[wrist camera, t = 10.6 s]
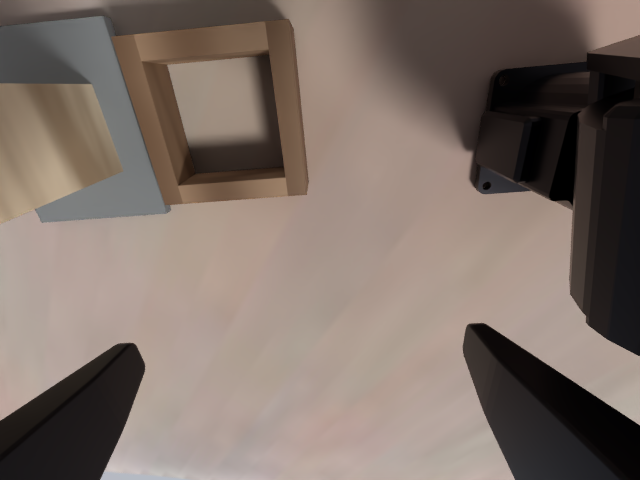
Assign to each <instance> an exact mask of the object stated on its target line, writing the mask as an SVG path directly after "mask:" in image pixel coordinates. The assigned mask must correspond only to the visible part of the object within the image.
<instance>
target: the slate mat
mask: <svg viewBox="0 0 640 480" xmlns="http://www.w3.org/2000/svg"><path fill="white" fill-rule="evenodd" d="M112 36H116V34H115V31H114V27H113V24H112V21H111V18H108V17H105V16H95V17H86V18H76V19H66V20H56V21H46V22H37V23H27V24H17V25H7V26H0V83H14V84H92V86H93V88H94V91H95V94H96V97H97V99H98V102H99V105H100V108H101V110H102V113H103V116H104V119H105V121H106V124H107V127H108V130H109V132H110V135H111V138H112V141H113V143H114V146H115V149H116V152H117V154H118V157H119V160H120V163H121V165H122V168H123V172H120V173H118V174H116V175H113V176H111V177H109V178H106V179H104V180H102V181H99V182H97V183H95V184H92V185H90V186H88V187H85V188H83V189H81V190H78V191H76V192H74V193H71V194H69V195H67V196H64V197H62V198H60V199H57V200H55V201H53V202H50V203H48V204H46V205H43V206H41V207H39V208H36V209H35V210H36V212H37V214H38V216H39V218H40V220H41V222H42V223H43V222H57V221H71V220H84V219H98V218H112V217H125V216H139V215H153V214H166V213H168V212H169V211H170V210H171V209H170V205H165V203H164V200H163V197H162V194H161V191H160V188H159V185H158V181H157V178H156V175H155V172H154V169H153V166H152V163H151V160H150V157H149V153H148V150H147V147H146V144H145V141H144V138H143V135H142V132H141V129H140V125H139V122H138V119H137V116H136V113H135V110H134V107H133V104H132V100H131V97H130V94H129V91H128V88H127V85H126V82H125V79H124V76H123V72H122V69H121V66H120V63H119V60H118V57H117V54H116V51H115V48H114V44H113V41H112V38H111V37H112Z"/></svg>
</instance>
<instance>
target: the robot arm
mask: <svg viewBox="0 0 640 480" xmlns="http://www.w3.org/2000/svg"><path fill="white" fill-rule="evenodd" d="M503 75H504V77H505V82H504V84H503V85H500V84H499V79H500V77H501V76H503ZM475 161H476V162H477V163H478V168H477V175H476V181H475V188H476V190H477V191H479V192H480V193H482V194H494V193H508V192H522V191H533V192H535V193H537V194H539V195H541V196H543V197H545V198H547V199H549V200H551V201H555V202H557V203H559V204H561V205H563V206H565V207H567V208H569V209H571V210H573V217H572V236H571V256H570V275H569V282H570V295H571V296H572V298H573V299H574V301H575V302H576V304H577V305H578V306H579V308H580V309H581V311H582V312H583V313H584V314H585V315H586V323H587V324H588V326H590V327H591V328H593V329H594V330H595V331H597V332H598V333H599V334H601V335H602V336H603V337H605V338H606V339H608V340H609V341H611V342H613V343H615V344H617V345H619V346H621V347H623V348H625V349H626V350H628V351H630V352H632V353H634V354H636V355H638V356H640V35H638V36H635V37H632V38H629V39H626V40H623V41H620V42H617V43H614V44H611V45H608V46H605V47H602V48H599V49H596V50H593V51H590V52H588V53H587V62H580V63H569V64H558V65H546V66H535V67H524V68H513V69H502V70H498V71H497V72H495V73H494V75H493V76H492V78H491V81H490V87H489V93H488V100H487V107H486V112H485V113H484V114H483V115H482V117H481V124H480V131H479V138H478V145H477V152H476V159H475ZM485 182H488V185H487V186H486V187H485V188H482V186H483V184H484V183H485ZM463 354H464V357H465V360H466V363H467V366H468V369H469V372H470V374H471V377H472V380H473V383H474V386H475V389H476V392H477V395H478V397H479V400H480V403H481V406H482V408H483V411H484V414H485V416H486V418H487V421H488V423H489V425H490V427H491V429H492V431H493V434H494V436H495V438H496V440H497V442H498V444H499V446H500V448H501V451H502V453H503V455H504V457H505V459H506V461H507V463H508V466H509V468H510V470H511V472H512V474H513V476H514V478H515V480H640V425H638V424H637V423H635V422H634V421H632V420H631V419H629V418H628V417H626V416H625V415H623V414H622V413H620V412H619V411H617V410H616V409H614V408H613V407H611V406H609V405H608V404H606V403H605V402H603V401H602V400H600V399H599V398H597V397H596V396H594V395H593V394H591V393H590V392H588V391H587V390H585V389H584V388H582V387H581V386H579V385H578V384H576V383H575V382H573V381H572V380H570V379H568V378H567V377H565V376H564V375H562V374H561V373H559V372H558V371H556V370H555V369H553V368H552V367H550V366H549V365H547V364H546V363H544V362H543V361H541V360H540V359H538V358H537V357H535V356H534V355H532V354H531V353H529V352H528V351H526V350H524V349H523V348H521V347H520V346H518V345H517V344H515V343H514V342H512V341H511V340H509V339H508V338H506V337H505V336H503V335H502V334H500V333H499V332H497V331H496V330H494V329H493V328H491V327H490V326H488V325H486V324H484V323H472V324H468V325H467V327H466V331H465V337H464V342H463ZM144 372H145V363H144V361H143V359H142V357H141V354H140V352H139V350H138V348H137V346H136V345H135V344H134V343H120V344H117V345H115V346H113V347H112V348H110V349H109V350H107V351H106V352H104V353H103V354H101V355H100V356H98V357H97V358H95V359H94V360H92V361H91V362H89V363H87V364H86V365H84V366H83V367H81V368H80V369H78V370H77V371H75V372H74V373H72V374H71V375H69V376H68V377H66V378H65V379H63V380H62V381H60V382H59V383H57V384H56V385H54V386H53V387H51V388H50V389H48V390H46V391H45V392H43V393H42V394H40V395H39V396H37V397H36V398H34V399H33V400H31V401H30V402H28V403H27V404H25V405H24V406H22V407H21V408H19V409H18V410H16V411H15V412H13V413H12V414H10V415H9V416H7V417H5V418H4V419H2V420H1V421H0V480H100V479H101V477H102V474H103V472H104V470H105V468H106V466H107V464H108V462H109V460H110V457H111V455H112V453H113V451H114V449H115V447H116V445H117V443H118V440H119V438H120V436H121V434H122V431H123V429H124V427H125V424H126V422H127V419H128V416H129V414H130V411H131V408H132V405H133V403H134V400H135V397H136V394H137V392H138V389H139V386H140V383H141V381H142V378H143V375H144Z"/></svg>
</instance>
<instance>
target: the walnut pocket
mask: <svg viewBox="0 0 640 480" xmlns="http://www.w3.org/2000/svg"><path fill="white" fill-rule="evenodd" d="M111 38H112V41H113V44H114V48H115V51H116V54H117V57H118V60H119V63H120V66H121V69H122V72H123V76H124V79H125V82H126V85H127V88H128V91H129V94H130V97H131V100H132V104H133V107H134V110H135V113H136V116H137V119H138V122H139V125H140V129H141V132H142V135H143V138H144V141H145V144H146V147H147V150H148V153H149V157H150V160H151V163H152V166H153V169H154V172H155V175H156V178H157V181H158V185H159V188H160V191H161V194H162V197H163V200H164V203H165V205H174V204H188V203H201V202H214V201H228V200H241V199H255V198H268V197H282V196H295V195H307V189H308V182H309V181H308V171H307V161H306V150H305V140H304V130H303V120H302V110H301V100H300V89H299V79H298V69H297V59H296V49H295V39H294V29H293V27H292V25H291V23H290V21H289V19H284V20H274V21H264V22H254V23H244V24H233V25H223V26H213V27H203V28H193V29H183V30H173V31H163V32H153V33H142V34H132V35H122V36H112V37H111ZM264 55H269V56H270V64H271V71H272V79H273V86H274V94H275V101H276V109H277V117H278V124H279V132H280V139H281V147H282V155H283V162H284V167H275V168H262V169H249V170H237V171H224V172H211V173H199V174H195V170H194V166H193V162H192V159H191V155H190V151H189V147H188V143H187V140H186V136H185V132H184V128H183V124H182V121H181V117H180V113H179V109H178V105H177V101H176V98H175V94H174V90H173V86H172V82H171V79H170V75H169V71H168V67H167V65H168V64H179V63H189V62H200V61H211V60H221V59H232V58H243V57H253V56H264Z"/></svg>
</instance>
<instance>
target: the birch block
mask: <svg viewBox="0 0 640 480" xmlns="http://www.w3.org/2000/svg"><path fill="white" fill-rule="evenodd" d="M120 172H123V168H122V165H121V163H120V160H119V157H118V154H117V152H116V149H115V146H114V143H113V141H112V138H111V135H110V132H109V130H108V127H107V124H106V121H105V119H104V116H103V113H102V110H101V108H100V105H99V102H98V99H97V97H96V94H95V91H94V88H93V86H92V84H14V83H0V224H1V223H4V222H6V221H8V220H11V219H13V218H15V217H18V216H20V215H22V214H25V213H27V212H29V211H32V210H34V209H36V208H39V207H41V206H43V205H46V204H48V203H50V202H53V201H55V200H57V199H60V198H62V197H64V196H67V195H69V194H71V193H74V192H76V191H78V190H81V189H83V188H85V187H88V186H90V185H92V184H95V183H97V182H99V181H102V180H104V179H106V178H109V177H111V176H113V175H116V174H118V173H120Z"/></svg>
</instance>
